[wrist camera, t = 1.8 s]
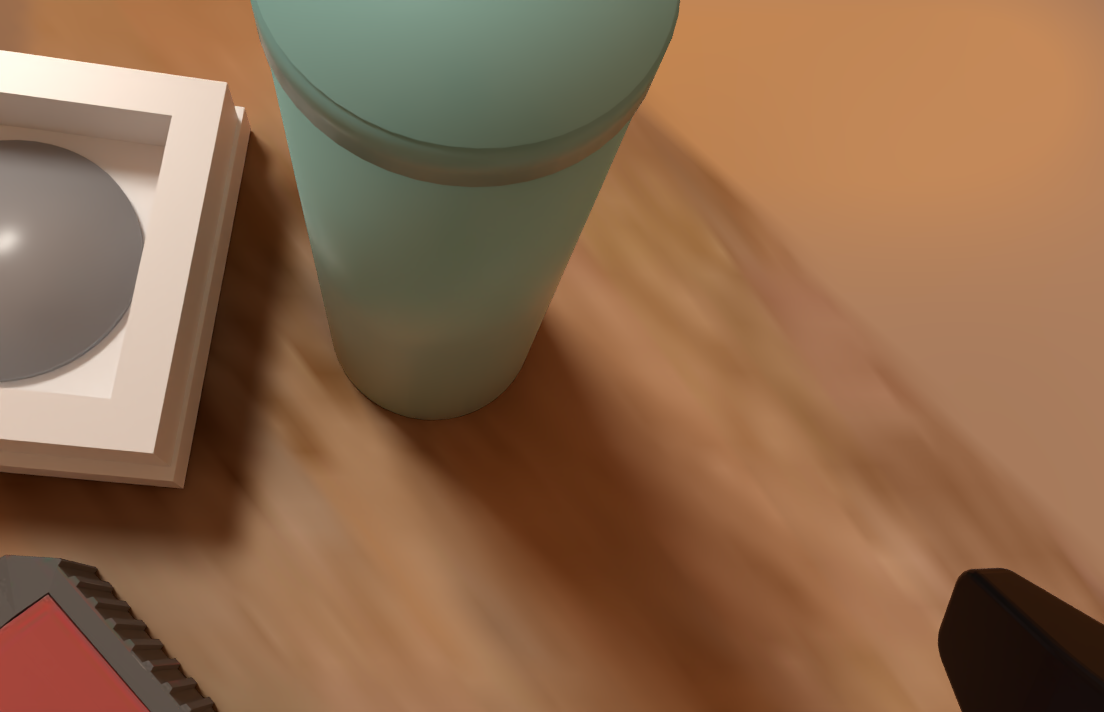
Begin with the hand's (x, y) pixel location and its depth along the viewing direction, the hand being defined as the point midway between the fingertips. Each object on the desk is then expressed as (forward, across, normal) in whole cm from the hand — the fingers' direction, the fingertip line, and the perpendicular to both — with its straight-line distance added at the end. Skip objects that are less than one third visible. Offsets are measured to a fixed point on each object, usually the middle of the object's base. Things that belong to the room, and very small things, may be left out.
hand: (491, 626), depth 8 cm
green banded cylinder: (+14, 0, +4) cm, 15 cm away
